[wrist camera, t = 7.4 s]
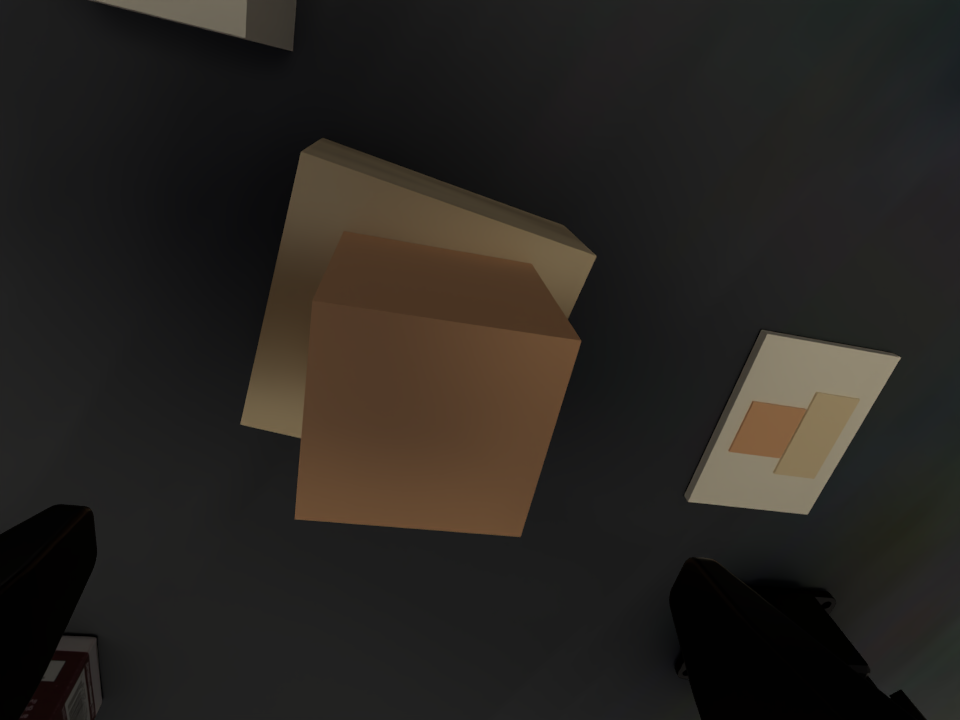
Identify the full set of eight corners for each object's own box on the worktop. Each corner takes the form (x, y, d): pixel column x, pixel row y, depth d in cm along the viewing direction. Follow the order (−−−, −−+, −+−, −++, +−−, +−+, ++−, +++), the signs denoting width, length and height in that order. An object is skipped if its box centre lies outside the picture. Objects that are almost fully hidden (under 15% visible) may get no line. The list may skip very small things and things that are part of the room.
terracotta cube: (492, 418, 17) (520, 536, 13) (326, 399, 16) (294, 519, 12) (532, 263, 15) (581, 341, 11) (343, 231, 14) (312, 300, 10)
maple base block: (479, 416, 22) (493, 481, 18) (270, 363, 20) (240, 424, 16) (561, 223, 19) (596, 255, 15) (324, 136, 17) (300, 151, 13)
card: (801, 508, 26) (808, 516, 25) (684, 495, 24) (689, 503, 24) (893, 352, 22) (902, 358, 22) (761, 329, 21) (769, 334, 21)
